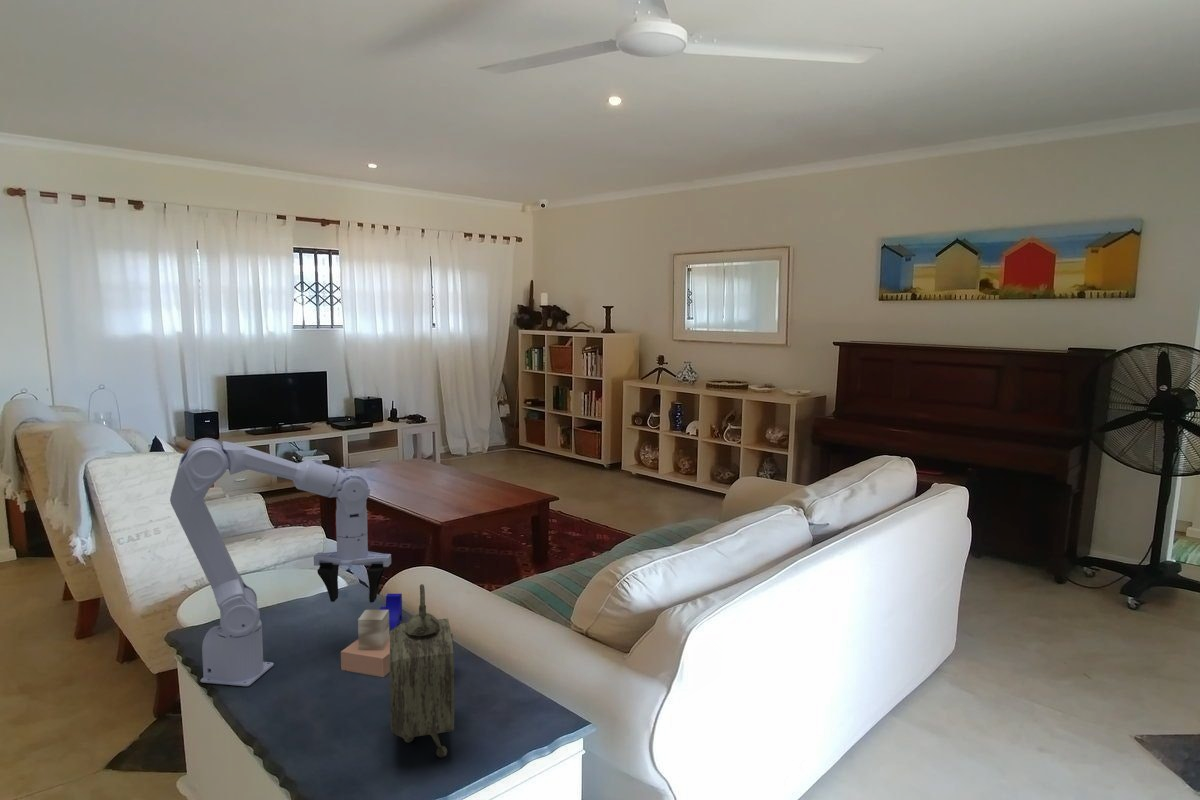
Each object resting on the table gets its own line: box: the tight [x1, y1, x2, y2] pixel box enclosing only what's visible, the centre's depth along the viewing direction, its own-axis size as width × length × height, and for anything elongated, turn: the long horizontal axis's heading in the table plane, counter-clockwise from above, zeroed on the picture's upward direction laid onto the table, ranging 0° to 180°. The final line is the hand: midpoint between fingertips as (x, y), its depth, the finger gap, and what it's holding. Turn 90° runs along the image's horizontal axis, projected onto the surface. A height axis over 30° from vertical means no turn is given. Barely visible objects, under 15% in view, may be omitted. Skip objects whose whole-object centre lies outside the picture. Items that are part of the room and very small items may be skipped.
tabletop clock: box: [389, 583, 455, 759], centre depth 107 cm, size 14×9×25 cm, turn 17°
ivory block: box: [357, 609, 389, 650], centre depth 131 cm, size 4×4×6 cm
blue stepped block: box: [378, 593, 403, 634], centre depth 145 cm, size 12×4×6 cm, turn 2°
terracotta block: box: [340, 634, 390, 678], centre depth 132 cm, size 9×9×4 cm
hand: (353, 600), depth 136 cm, fingers open, 7 cm apart
